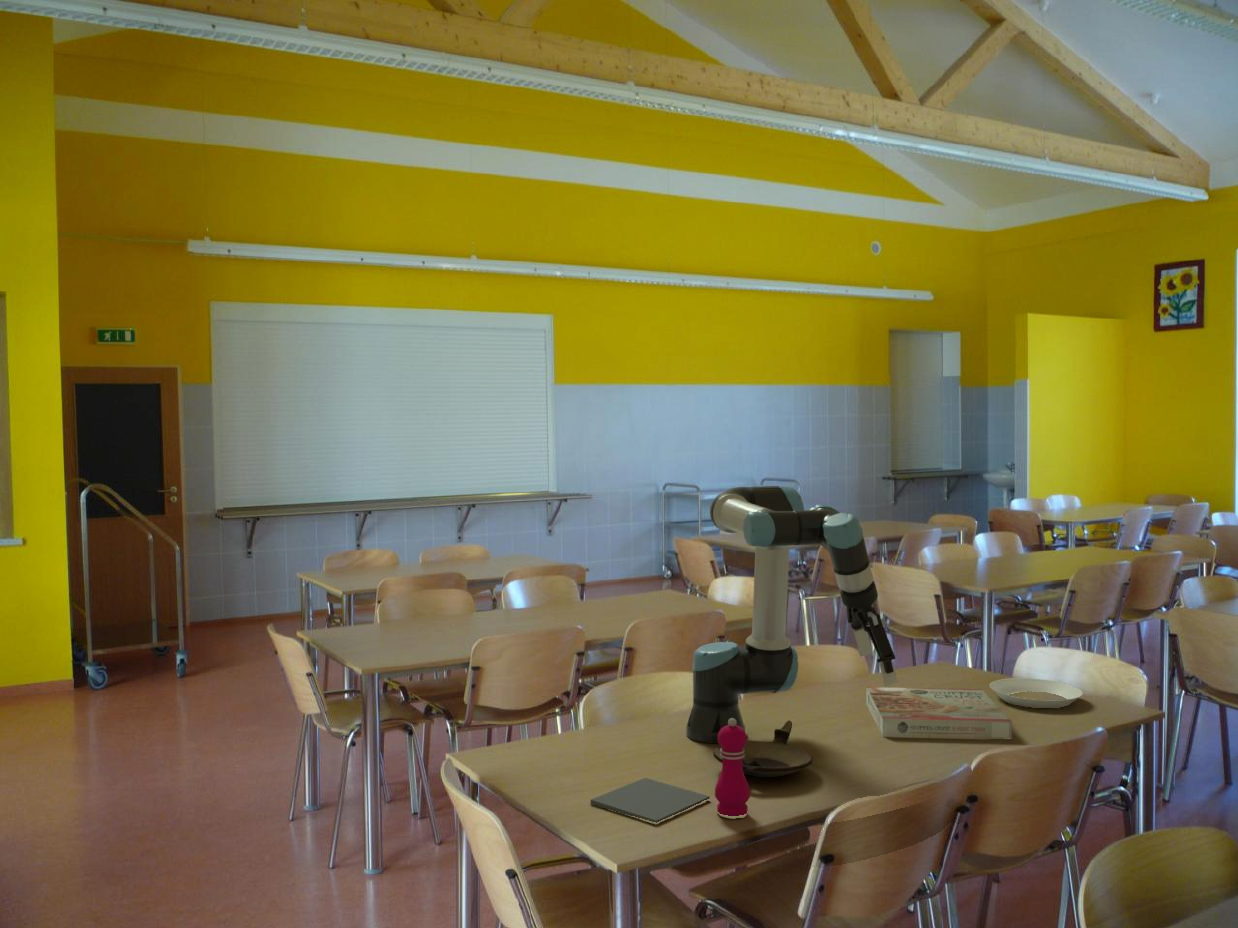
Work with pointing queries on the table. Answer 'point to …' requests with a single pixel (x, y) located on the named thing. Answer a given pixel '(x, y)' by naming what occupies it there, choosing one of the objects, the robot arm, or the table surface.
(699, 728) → the robot arm
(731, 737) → the pepper mill
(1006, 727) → the pizza box
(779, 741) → the ancient handled dish
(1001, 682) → the white plate
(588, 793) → the table surface
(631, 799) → the charcoal notebook
